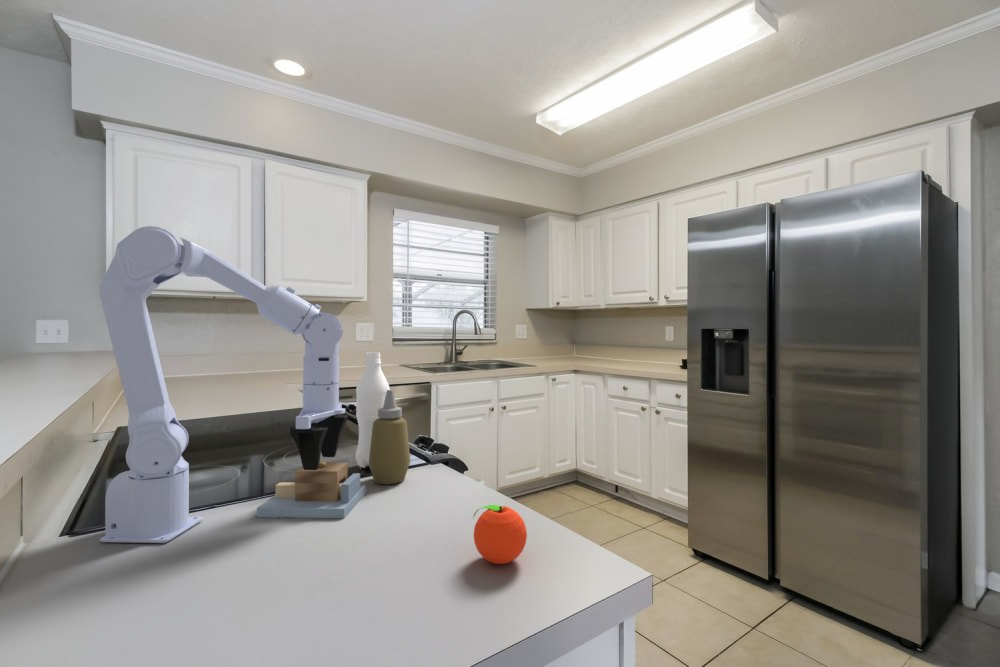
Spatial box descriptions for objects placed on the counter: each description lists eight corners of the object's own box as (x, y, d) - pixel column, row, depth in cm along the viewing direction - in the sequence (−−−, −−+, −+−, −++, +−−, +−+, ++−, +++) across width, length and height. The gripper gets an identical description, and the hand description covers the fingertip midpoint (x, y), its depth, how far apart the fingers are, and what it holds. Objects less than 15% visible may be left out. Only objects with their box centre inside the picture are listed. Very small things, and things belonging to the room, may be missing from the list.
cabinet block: (295, 501, 76) (295, 466, 76) (308, 490, 81) (308, 458, 81) (337, 501, 76) (337, 467, 76) (347, 491, 81) (347, 458, 81)
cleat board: (256, 517, 73) (256, 489, 73) (289, 492, 84) (289, 468, 84) (344, 518, 73) (344, 489, 73) (365, 493, 84) (365, 469, 84)
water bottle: (349, 470, 97) (349, 353, 97) (364, 461, 105) (365, 351, 104) (381, 472, 96) (381, 353, 96) (394, 463, 103) (395, 352, 103)
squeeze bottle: (418, 478, 93) (419, 389, 92) (389, 490, 86) (389, 394, 86) (390, 471, 97) (390, 386, 97) (359, 482, 90) (360, 390, 90)
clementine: (456, 561, 59) (456, 507, 59) (487, 541, 65) (487, 491, 65) (507, 581, 55) (508, 521, 55) (536, 557, 61) (536, 504, 61)
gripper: (328, 388, 71) (327, 476, 71) (358, 379, 86) (357, 452, 86) (282, 388, 71) (281, 475, 71) (320, 378, 86) (319, 451, 86)
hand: (320, 462), depth 78 cm, fingers open, 7 cm apart
